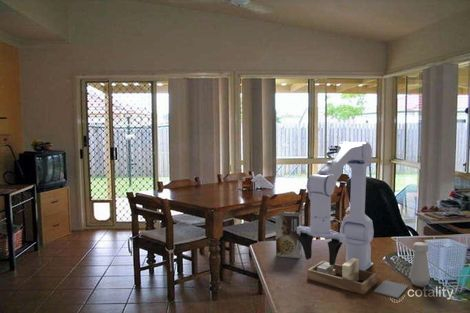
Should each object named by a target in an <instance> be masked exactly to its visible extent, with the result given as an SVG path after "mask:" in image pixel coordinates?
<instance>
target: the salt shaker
mask: <svg viewBox="0 0 470 313" xmlns="http://www.w3.org/2000/svg"><path fill="white" fill-rule="evenodd" d="M412 250H413V251H414V254H413V259H412V263H411V266H410V270H409V274H408V277H409V278H410V281H411V284H412V285H414V286H416V287H423V288H424V287H427V286H428V283H429V282H430V279H431V276H430V275H431V274H430V267H429V262H428V257H427V255H428V254H427V252H429V245H428V244H427V243H425V242H421V241H417V242H414V243H413V244H412Z"/></svg>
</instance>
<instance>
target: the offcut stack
mask: <svg viewBox="0 0 470 313" xmlns="http://www.w3.org/2000/svg"><path fill="white" fill-rule="evenodd" d="M327 262H328V261H327ZM327 262H324V263H323V264H321V265H320V266H318V267H317V271H318V272H322V273H325V274H329V275H333V276H337V274H336V269H333V265H330V264H329V263H327Z"/></svg>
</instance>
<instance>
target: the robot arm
mask: <svg viewBox="0 0 470 313" xmlns="http://www.w3.org/2000/svg"><path fill="white" fill-rule="evenodd" d="M336 149H337V150H336V152H337V153H336V155H335V156H334V157H333V159H332V160H327V161H326V163H325V164H324V165H323V166H322V167H321V168H320V169H319V170H318V172H317V173H313V174H311V175H310V176H309V177H308V179H307V182H306V191H307V193H308V200H310V208H309V209H310V210H309V211H310V220H309V221H310V225H309V226H305V225H304V226H303V225H302V226H299V227H297V234H300V236H298V239H299V241H300V243H301V245H302V249H303V250H302V251H303V253H304V257H305V260H310V259H311V258H312V252H313V251H312V249H313V248H312V245H313V240H314V237H317V238H322V239H327V240H329V241H328V242H327V247H328V253H329V257H328V258H329V261H328V262H329V264H330V265H334V264H336V259H337V257H338V256H337V255H338V253H339V251H340V249H341V247H342V245H343V243H344V242H345V263H346V262H347V261H349V260H350V259H352V258H357V259H359V269H360V270H364V271H367V270H369V268H371V267H372V266H374V262H371V260H372V259H371V257H372V255H371V254H372V246H371V242H372V241H373V239H374V236H375V235H374V233H375V231H374V224H373V220H372V219H371V218H370V217H369V216H368V215H367V214H366V212H365V210H366V189H367V188H366V187H367V186H366V185H367V168H368V167H370V166H371V165H372V159H373V157H372V156H373V148H372V146H371V144H370V142H368V141H340V142H339V143H338V145H337V148H336ZM346 165H348V166H349V168H350V169H351V171H350V195H349V196H350V199H349V213H348V214H347V215H346V216H344V217H343V218H342V224H341V226H340V232H338V231H335V230H333V229H331V224H332V222H331V220H332V219H331V217H332V216H331V214H332V212H331V211H332V210H331V208H332V195H333V194H334V192H335V188H336V186H337V181H338V180H339V179H340V177H341V175H343V170H344V169H343V168H344V166H346Z"/></svg>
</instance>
